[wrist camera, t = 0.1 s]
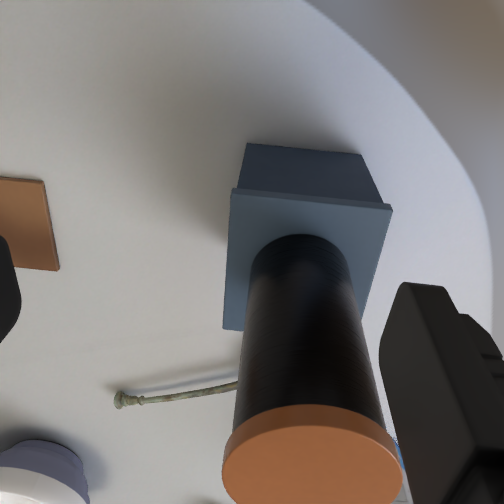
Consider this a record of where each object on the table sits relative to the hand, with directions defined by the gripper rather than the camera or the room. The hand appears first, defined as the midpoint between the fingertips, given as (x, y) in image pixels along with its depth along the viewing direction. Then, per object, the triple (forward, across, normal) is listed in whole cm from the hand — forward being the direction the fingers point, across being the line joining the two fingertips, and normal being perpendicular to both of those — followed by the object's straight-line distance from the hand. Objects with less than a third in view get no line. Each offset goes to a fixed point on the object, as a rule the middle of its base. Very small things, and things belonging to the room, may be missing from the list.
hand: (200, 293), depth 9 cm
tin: (+13, -4, +8) cm, 16 cm away
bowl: (+22, +21, +46) cm, 55 cm away
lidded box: (+22, -4, +8) cm, 24 cm away
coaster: (+22, +19, +13) cm, 32 cm away
